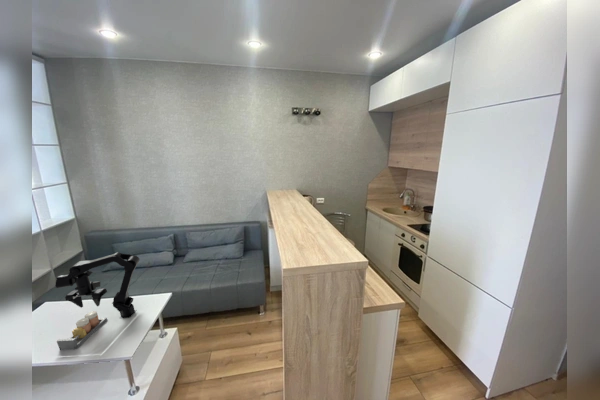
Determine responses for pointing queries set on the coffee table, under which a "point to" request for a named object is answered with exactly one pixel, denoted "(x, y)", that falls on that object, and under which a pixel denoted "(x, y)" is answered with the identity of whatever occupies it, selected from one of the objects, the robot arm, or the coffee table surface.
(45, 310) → the coffee table surface
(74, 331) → the yellow lumpy piece
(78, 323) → the jar
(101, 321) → the tray
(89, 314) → the jar
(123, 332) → the coffee table surface
